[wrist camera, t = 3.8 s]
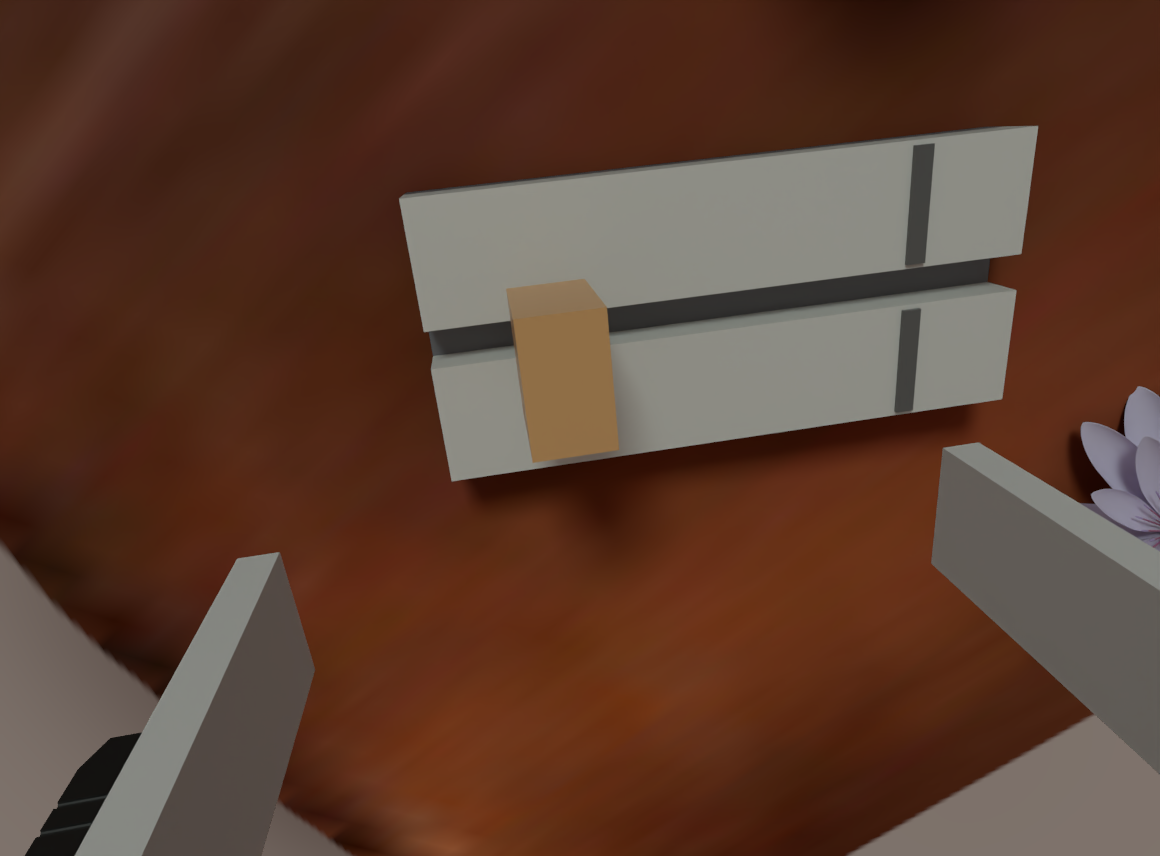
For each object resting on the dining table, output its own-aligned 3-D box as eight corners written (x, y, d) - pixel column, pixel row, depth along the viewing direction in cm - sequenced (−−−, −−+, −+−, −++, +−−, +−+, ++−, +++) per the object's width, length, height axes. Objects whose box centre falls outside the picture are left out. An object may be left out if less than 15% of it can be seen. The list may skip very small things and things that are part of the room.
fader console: (406, 192, 30) (398, 199, 27) (987, 126, 33) (1041, 125, 30) (453, 452, 35) (451, 483, 32) (960, 378, 37) (1004, 400, 34)
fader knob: (502, 271, 31) (512, 319, 23) (572, 263, 31) (607, 307, 23) (517, 382, 33) (532, 462, 25) (583, 373, 33) (619, 450, 25)
